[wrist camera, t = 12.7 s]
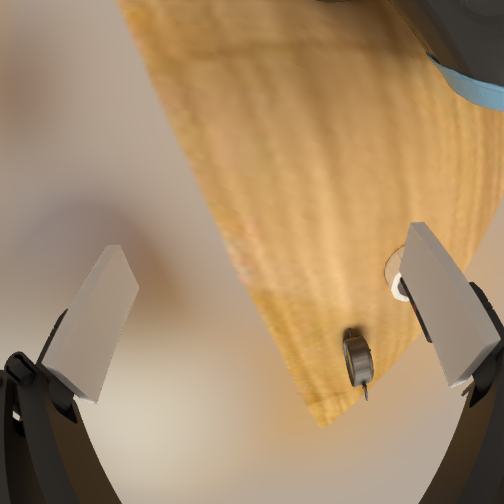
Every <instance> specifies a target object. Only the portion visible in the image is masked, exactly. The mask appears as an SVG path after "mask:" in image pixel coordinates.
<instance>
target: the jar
mask: <svg viewBox="0 0 504 504" xmlns="http://www.w3.org/2000/svg"><path fill="white" fill-rule="evenodd" d="M404 248H405V246H403V247H401V248H399V249H398V250H397V251H396V252H395V253H393V255H392V256H391V257H390V258H389V260H388V262H387V264H386V266H385V278H386V280H387V282H388V284H389V287H390V289H391V291H392V293H393V296H394V298H396V299H398V300H401V301H403V302H405V301H409V298H408V296H407V294H406V292H405V290H404V288H403V286H402V284H401V282H400V278H401V274H400V272H399V268H400V264H401V260H402V256H403V252H404Z"/></svg>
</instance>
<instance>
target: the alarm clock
mask: <svg viewBox="0 0 504 504" xmlns="http://www.w3.org/2000/svg"><path fill="white" fill-rule="evenodd" d="M350 330H351V329H350V328H349V329H348V331H349V339H347V340H344V342H343V348H344V355H345V361H346V366H347V370H348V374H349V378H350V381H351V384H352V386H353V387H356V386H360V385H362V386H363V389H364V391H365V397H366V400H368V395H367V389H366V388H367V386H366V384H367V383H369V382H371V381H372V379H373V374H374V369H373V361H372V356H371V353H370V351H371V349H369V346H368V344H367V342H366V340H365V339H364V338H363V336H362V337H361V336H358V337H354V338H353V337H352V334H351V331H350Z"/></svg>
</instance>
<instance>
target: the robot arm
mask: <svg viewBox="0 0 504 504" xmlns="http://www.w3.org/2000/svg"><path fill="white" fill-rule="evenodd" d="M318 1H325V2H343V1H349V0H318ZM388 1H389V2H390V3H391V4H392V5H393V6H394V8H395V9H396V10H397V11H398V12H399V14H400V15H401V16H402V18H403V19H404V20H405V21H406V23H407V24H408V25H409V27H410V28H411V30H412V31H413V32H414V34H415V35H416V37H417V38H418V39H419V41H420V42H421V44H422V45H423V47H424V48H425V51H426V54H427V56H428V57H429V59H430V60H431V61H432V62H433V63H434V64H435V65H436V66H437V67H438V69H439V70H440V72H441V74H442V75H443V77H444V78H445V80H446V82H447V83H448V85H449V86H450V87H451V88H452V90H453V91H455V92H456V93H457V94H458V95H460V96H462V97H463V98H465V99H466V100H467V101H469V102H471V103H473V104H476V105H478V106H481V107H484V108H488V109H492V110H497V111H504V0H388ZM399 272H400V274H401V276H402V278H403V280H404V282H405V284H406V286H407V288H408V290H409V292H410V294H411V296H412V298H413V300H414V302H415V304H416V306H417V308H418V311H419V313H420V315H421V317H422V319H423V322H424V324H425V326H426V328H427V331H428V333H429V335H430V338H431V340H432V343H433V345H434V348H435V350H436V353H437V355H438V358H439V360H440V363H441V366H442V369H443V371H444V374H445V377H446V379H447V383H448V386H449V388H451V387H454V386H457V385H460V384H462V383H465V382H466V380H467V379H468V378H469V377H470V376H471V375H472V376H473V379H474V381H473V382H472V383H471V384H470V385H469V386H468V387H467V388H466V389H465V390H464V391H463V393H462V396H464V395H465V394H466V393H467V392H468V391H469V393H468V396H467V399H466V402H465V405H464V408H463V412H462V414H461V417H460V420H459V422H458V425H457V428H456V430H455V433H454V435H453V438H452V440H451V442H450V445H449V447H448V450H447V451H446V454H445V456H444V458H443V460H442V462H441V464H440V466H439V468H438V470H437V472H436V474H435V476H434V478H433V480H432V482H431V484H430V485H429V487H428V489H427V490H426V492H425V494H424V495H423V497H422V499H421V501H420V502H419V504H504V327H503V325H502V323H501V321H500V319H499V318H498V316H497V314H496V312H495V311H494V310H493V309H492V308H493V307H492V306H491V304H490V302H488V299H487V297H486V296H485V294H484V293H483V291H482V290H481V289H480V288H479V287H478V286H477V285H476V284H475V283H474V282H469V283H468V281H467V280H466V278H465V277H464V275H463V274H462V272H461V271H460V269H459V268H458V266H457V265H456V263H455V262H454V261H453V259H452V258H451V256H450V255H449V254H448V252H447V251H446V250H445V248H444V247H443V246H442V244H441V243H440V242H439V240H438V239H437V238H436V236H435V235H434V234H433V233H432V231H431V230H430V229H429V228H428V226H427V225H426V224H425V223H424V222H414V223H410V226H409V231H408V236H407V240H406V244H405V248H404V252H403V256H402V260H401V264H400V268H399ZM138 290H139V286H138V284H137V282H136V280H135V278H134V276H133V273H132V271H131V269H130V267H129V265H128V262H127V260H126V258H125V255H124V253H123V251H122V248H121V246H120V245H112V246H107V247H106V249H105V250H104V251H103V253H102V254H101V256H100V257H99V259H98V260H97V262H96V264H95V265H94V267H93V268H92V270H91V271H90V273H89V275H88V276H87V278H86V280H85V281H84V283H83V284H82V286H81V288H80V290H79V291H78V293H77V295H76V297H75V298H74V300H73V302H72V304H71V305H70V307H69V309H66V310H65V311H64V312H63V313H62V314H61V316H60V317H59V318H58V320H57V322H56V324H55V325H54V329H53V330H52V331H51V333H50V337H48V339H47V341H46V343H45V345H44V347H43V349H42V352H41V354H40V356H39V358H38V360H37V362H36V364H34V363H33V362H32V361H31V360H30V359H29V358H28V357H27V356H26V355H25V354H24V353H23V352H16V353H14V354H12V355H11V356H10V357H9V358H8V360H7V361H6V364H5V366H4V370H0V504H122V503H121V501H120V500H119V498H118V496H117V494H116V493H115V491H114V489H113V487H112V485H111V483H110V482H109V480H108V478H107V476H106V474H105V472H104V470H103V468H102V466H101V464H100V462H99V459H98V457H97V455H96V453H95V450H94V448H93V446H92V443H91V441H90V439H89V436H88V434H87V431H86V429H85V426H84V423H83V420H82V418H81V415H80V412H79V409H78V406H77V404H76V402H75V400H73V397H74V394H75V395H77V396H78V397H79V398H80V399H81V400H83V401H86V402H90V403H94V404H97V402H98V399H99V395H100V392H101V389H102V386H103V382H104V380H105V376H106V374H107V371H108V368H109V365H110V362H111V359H112V356H113V354H114V351H115V348H116V345H117V343H118V340H119V337H120V335H121V332H122V329H123V327H124V324H125V322H126V319H127V317H128V314H129V312H130V309H131V307H132V304H133V302H134V299H135V297H136V295H137V292H138ZM13 411H14V412H15V413H17V414H18V415H19V416H20V420H19V421H18V420H16V419H15V418H13Z"/></svg>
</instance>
